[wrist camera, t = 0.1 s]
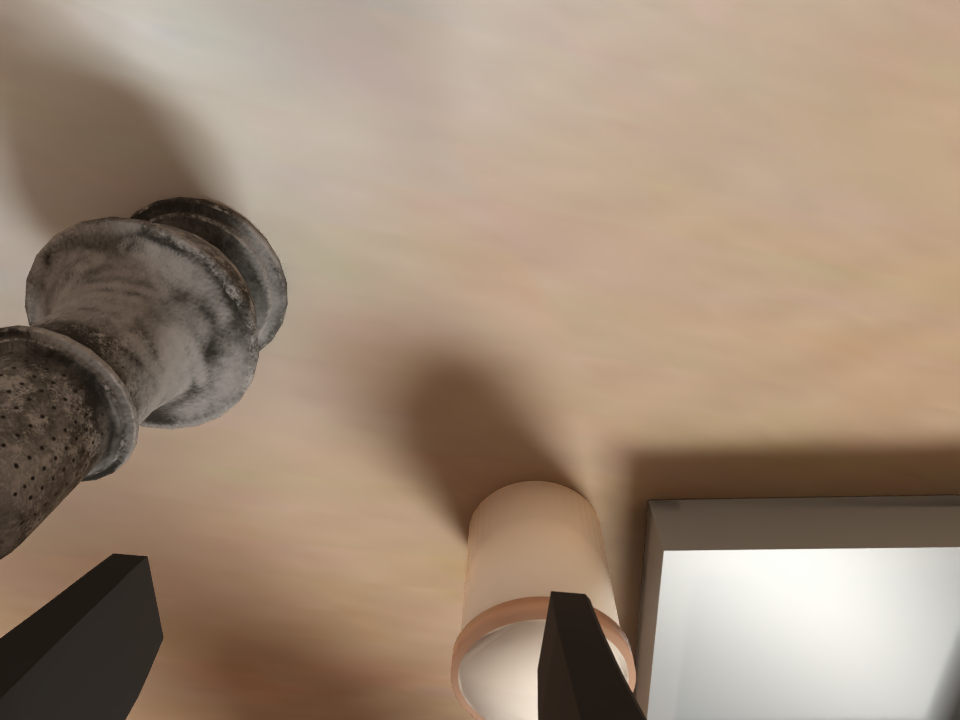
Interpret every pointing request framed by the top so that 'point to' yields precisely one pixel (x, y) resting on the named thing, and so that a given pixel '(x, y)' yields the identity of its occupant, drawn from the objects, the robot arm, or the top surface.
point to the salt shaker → (128, 345)
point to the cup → (526, 594)
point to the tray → (800, 609)
